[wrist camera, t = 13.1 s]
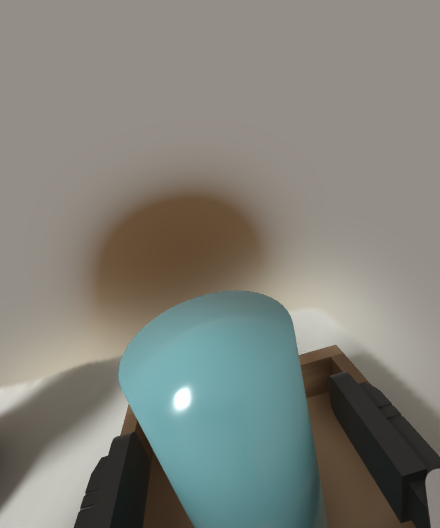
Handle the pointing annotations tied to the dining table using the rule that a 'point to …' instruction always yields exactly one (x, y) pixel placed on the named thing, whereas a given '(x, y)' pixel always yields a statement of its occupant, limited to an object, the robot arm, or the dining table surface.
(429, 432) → the dining table surface
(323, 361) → the walnut crate
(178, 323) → the teal canister
